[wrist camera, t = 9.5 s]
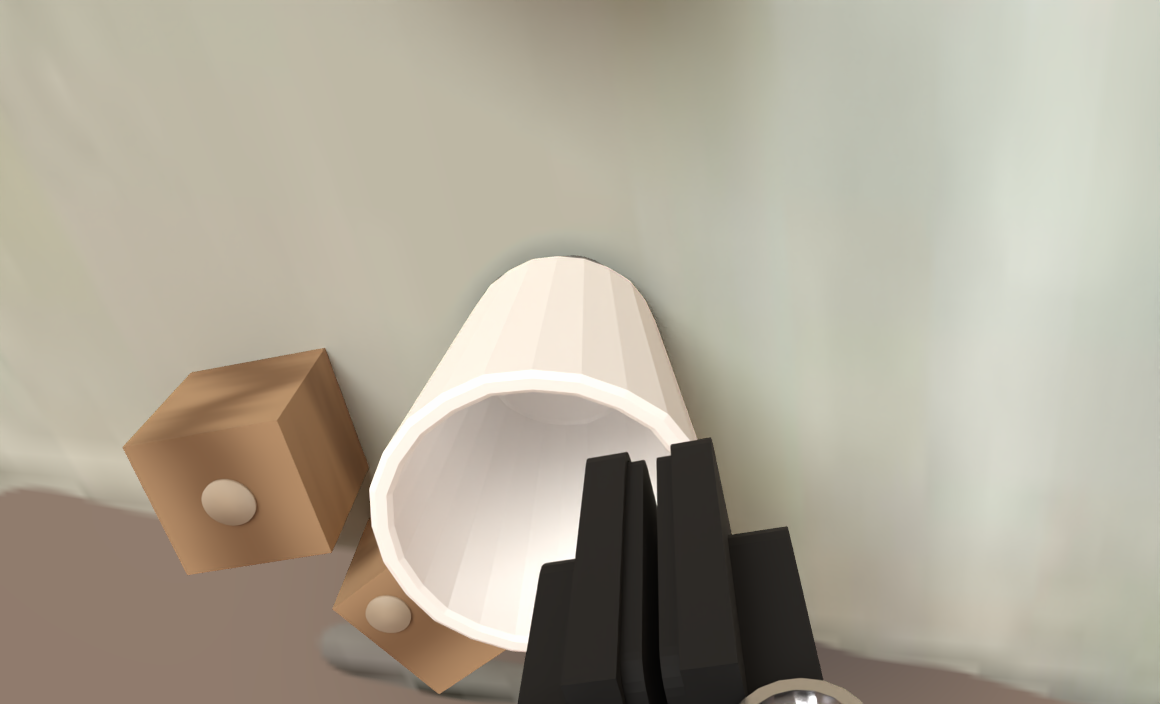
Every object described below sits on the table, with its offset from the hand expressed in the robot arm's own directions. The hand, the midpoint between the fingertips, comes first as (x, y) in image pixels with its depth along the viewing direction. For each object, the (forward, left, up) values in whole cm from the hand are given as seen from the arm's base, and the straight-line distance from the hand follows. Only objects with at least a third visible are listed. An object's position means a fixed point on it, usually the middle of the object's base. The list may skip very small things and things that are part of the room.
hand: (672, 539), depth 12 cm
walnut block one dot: (+1, +19, -24) cm, 30 cm away
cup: (-4, +7, -24) cm, 25 cm away
